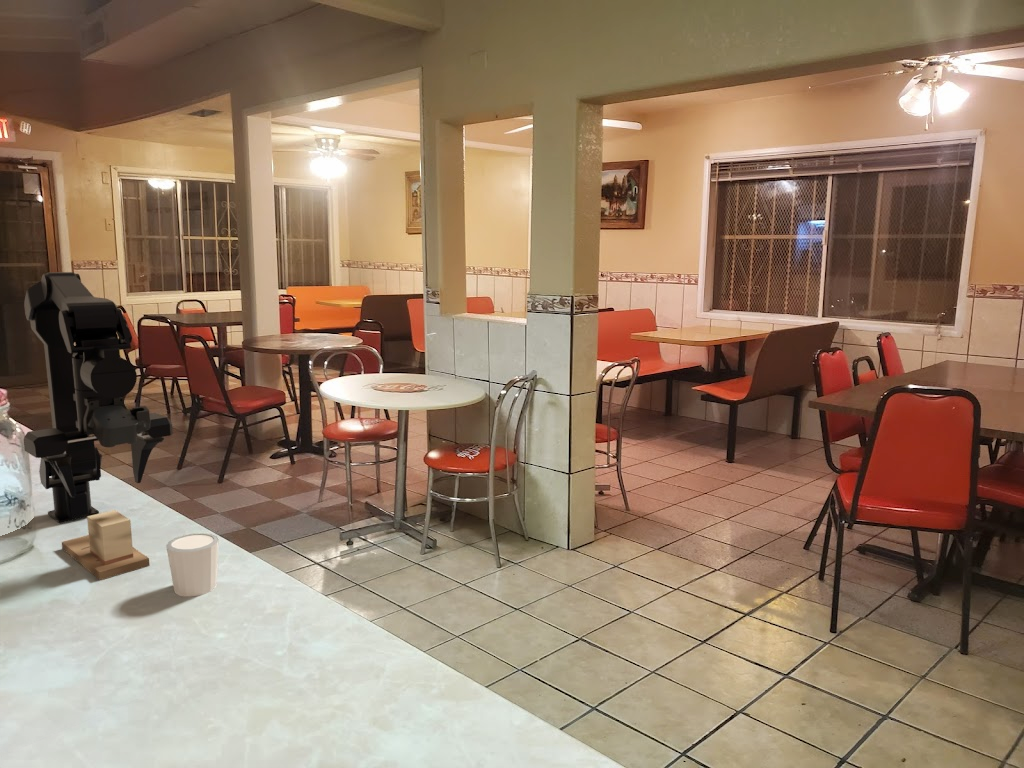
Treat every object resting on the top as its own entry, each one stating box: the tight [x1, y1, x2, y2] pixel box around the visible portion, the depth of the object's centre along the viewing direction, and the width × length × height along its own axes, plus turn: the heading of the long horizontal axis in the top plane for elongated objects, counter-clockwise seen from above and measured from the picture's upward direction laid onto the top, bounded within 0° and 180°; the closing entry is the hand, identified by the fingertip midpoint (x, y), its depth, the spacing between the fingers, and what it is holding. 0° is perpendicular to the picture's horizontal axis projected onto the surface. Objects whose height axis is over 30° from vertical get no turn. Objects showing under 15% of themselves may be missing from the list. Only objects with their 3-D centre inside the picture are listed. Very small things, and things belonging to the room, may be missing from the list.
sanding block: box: [86, 509, 134, 565], centre depth 114 cm, size 6×4×6 cm, turn 48°
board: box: [61, 534, 150, 581], centre depth 117 cm, size 16×7×1 cm, turn 48°
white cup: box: [165, 532, 220, 597], centre depth 106 cm, size 7×7×7 cm
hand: (106, 489), depth 112 cm, fingers open, 9 cm apart
